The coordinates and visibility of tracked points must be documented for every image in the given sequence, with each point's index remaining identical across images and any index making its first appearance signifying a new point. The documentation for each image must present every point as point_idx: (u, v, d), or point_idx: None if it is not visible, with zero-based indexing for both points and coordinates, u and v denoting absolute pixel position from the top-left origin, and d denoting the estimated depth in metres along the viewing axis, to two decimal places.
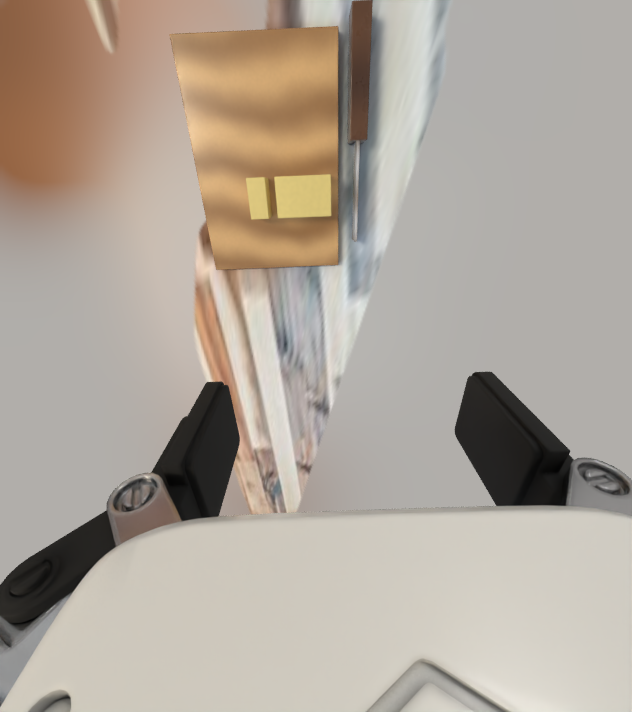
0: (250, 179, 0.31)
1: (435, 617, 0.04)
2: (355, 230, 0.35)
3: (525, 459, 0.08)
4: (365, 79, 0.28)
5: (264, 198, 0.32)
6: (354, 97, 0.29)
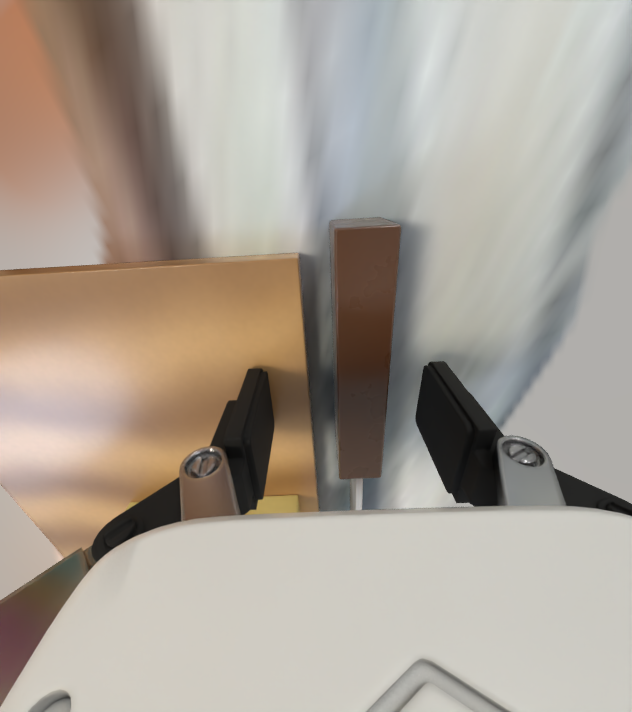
0: None
1: (435, 617, 0.04)
2: None
3: (461, 438, 0.09)
4: (377, 389, 0.10)
5: None
6: (348, 419, 0.11)
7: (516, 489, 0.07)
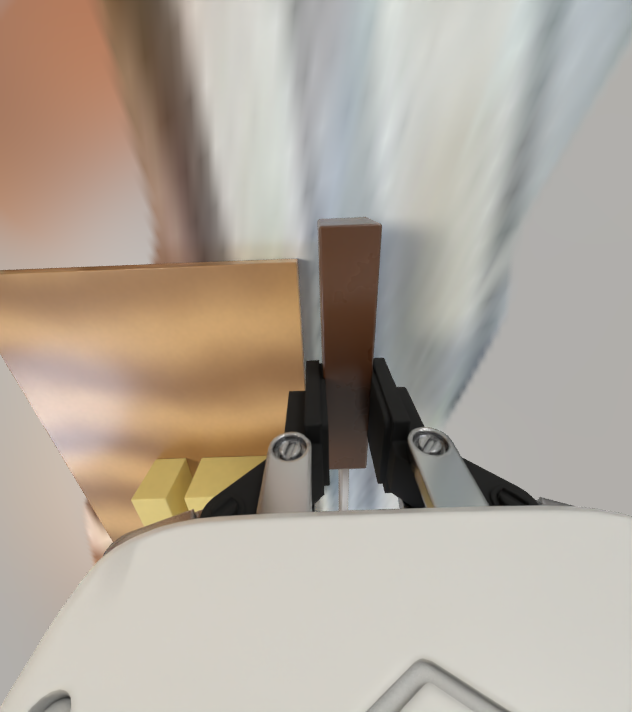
0: (139, 501, 0.17)
1: (435, 617, 0.04)
2: None
3: (382, 430, 0.09)
4: (361, 381, 0.11)
5: None
6: (334, 410, 0.11)
7: (436, 484, 0.07)
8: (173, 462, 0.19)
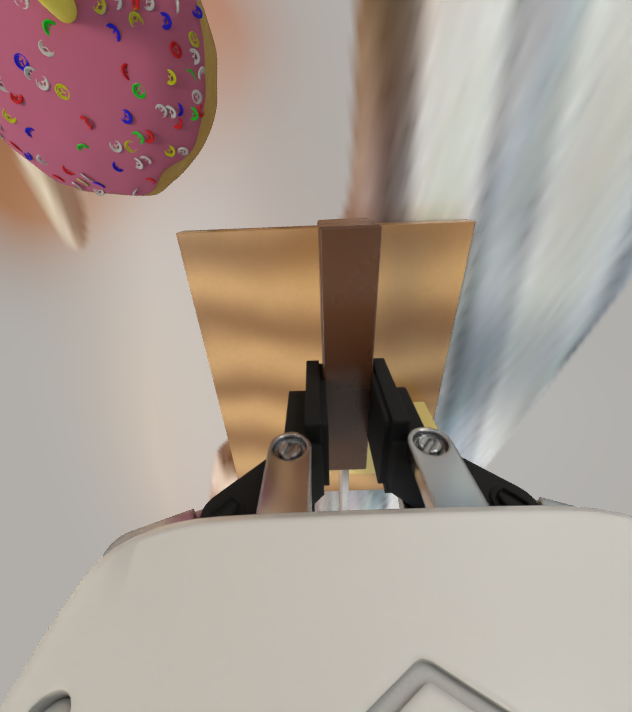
0: None
1: (435, 617, 0.04)
2: None
3: (382, 430, 0.09)
4: (361, 382, 0.11)
5: None
6: (334, 411, 0.11)
7: (436, 483, 0.07)
8: None
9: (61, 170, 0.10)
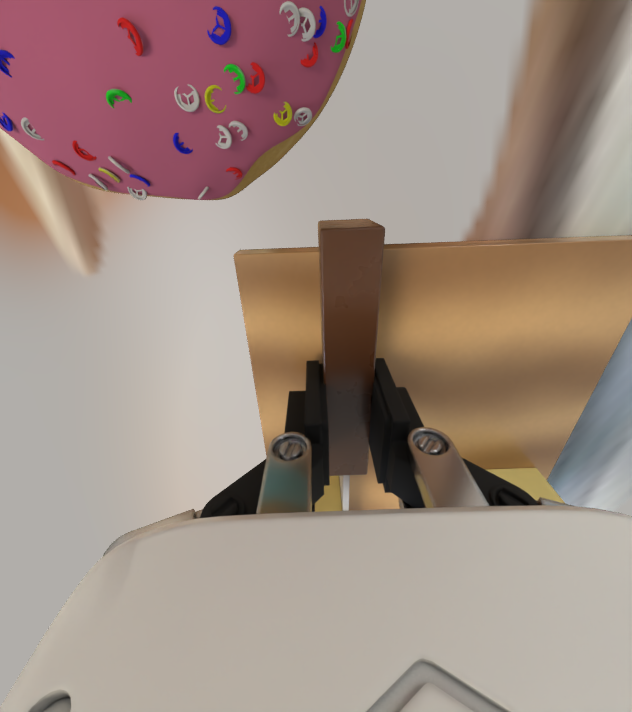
0: None
1: (435, 617, 0.04)
2: None
3: (382, 430, 0.09)
4: (363, 387, 0.11)
5: None
6: (335, 416, 0.11)
7: (436, 484, 0.07)
8: None
9: (70, 151, 0.05)
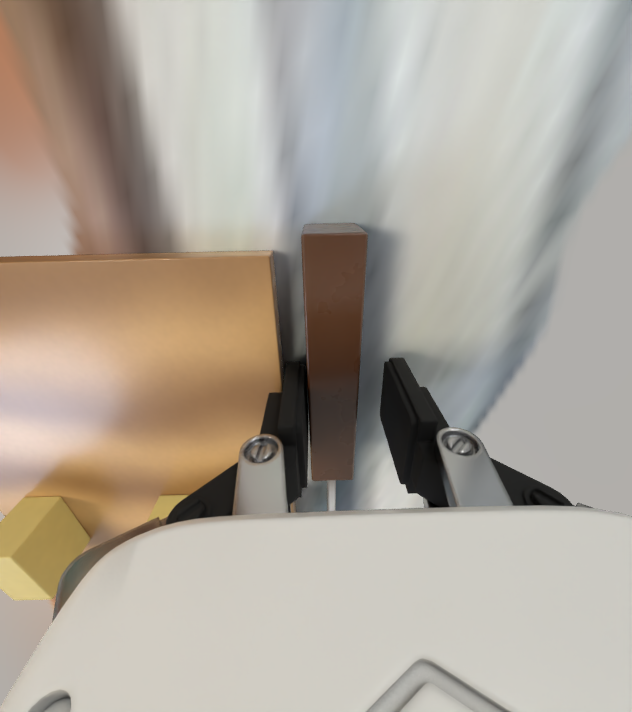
0: None
1: (435, 617, 0.04)
2: None
3: (408, 430, 0.09)
4: (347, 393, 0.10)
5: (28, 580, 0.14)
6: (319, 422, 0.11)
7: (462, 482, 0.07)
8: (43, 501, 0.15)
9: None
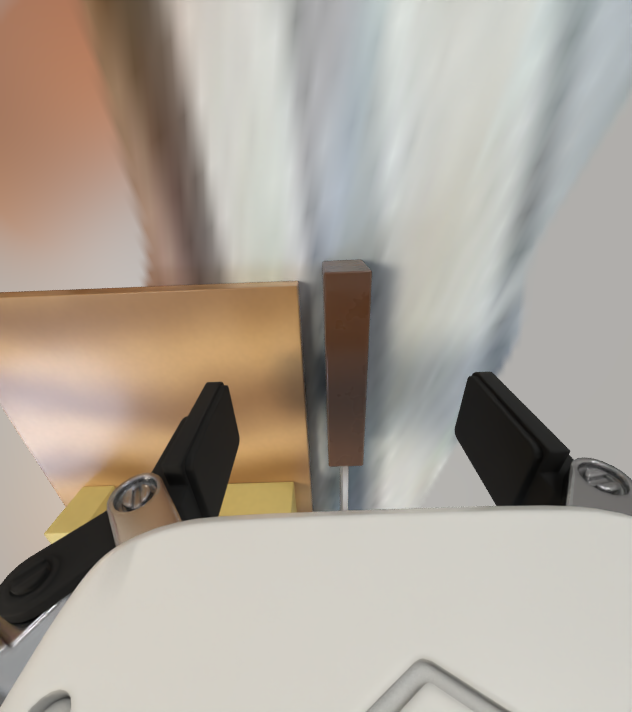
0: (53, 535, 0.16)
1: (435, 617, 0.04)
2: None
3: (525, 459, 0.08)
4: (358, 391, 0.13)
5: None
6: (335, 415, 0.14)
7: None
8: (99, 489, 0.18)
9: None
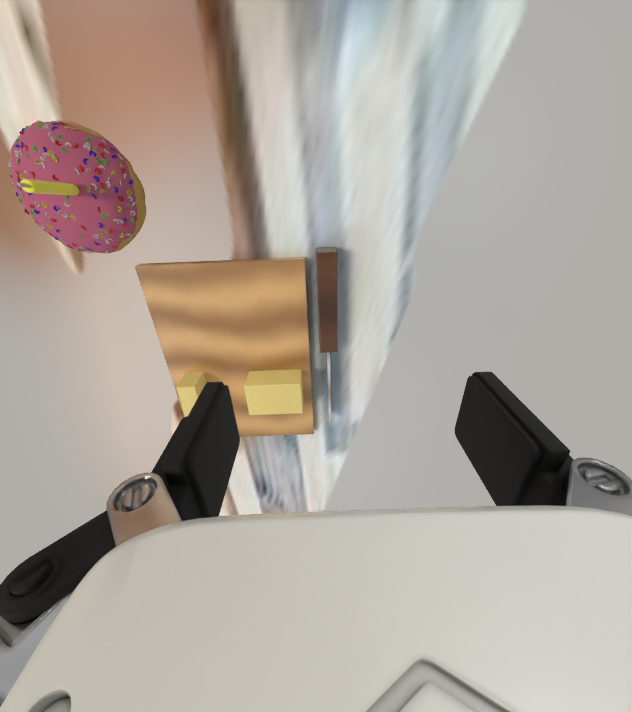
0: (180, 388, 0.31)
1: (435, 617, 0.04)
2: (329, 416, 0.35)
3: (525, 459, 0.08)
4: (333, 309, 0.28)
5: None
6: (323, 322, 0.29)
7: None
8: (196, 373, 0.33)
9: (71, 244, 0.22)
